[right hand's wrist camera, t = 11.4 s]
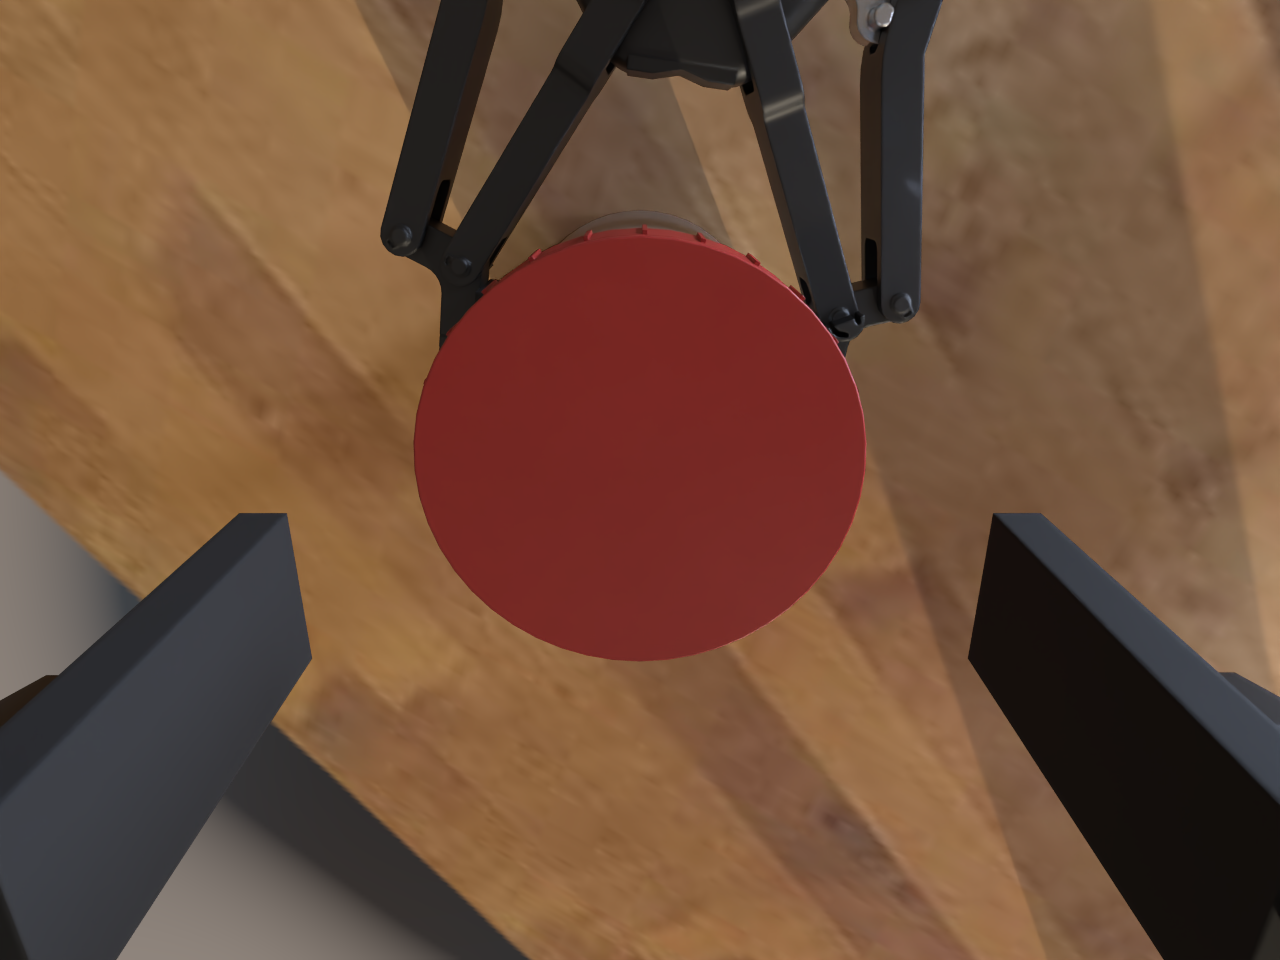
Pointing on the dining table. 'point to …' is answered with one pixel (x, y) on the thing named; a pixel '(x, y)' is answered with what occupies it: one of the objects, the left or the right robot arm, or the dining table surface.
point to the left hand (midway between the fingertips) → (623, 491)
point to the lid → (639, 445)
